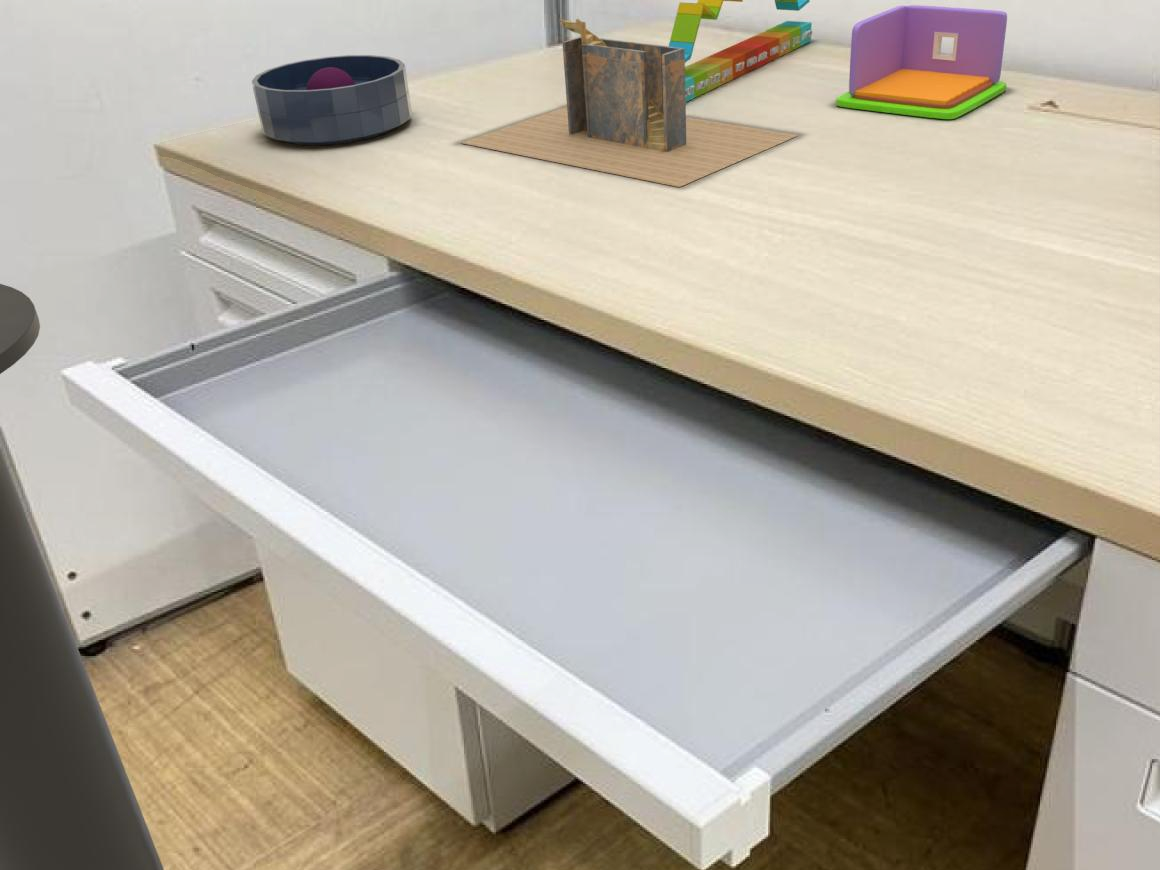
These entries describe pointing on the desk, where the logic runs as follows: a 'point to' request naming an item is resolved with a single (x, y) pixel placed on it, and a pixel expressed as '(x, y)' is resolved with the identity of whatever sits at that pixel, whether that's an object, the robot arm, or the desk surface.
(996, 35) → the dollhouse room
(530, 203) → the desk surface
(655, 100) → the architectural model on board
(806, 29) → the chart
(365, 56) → the bowl
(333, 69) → the plum
